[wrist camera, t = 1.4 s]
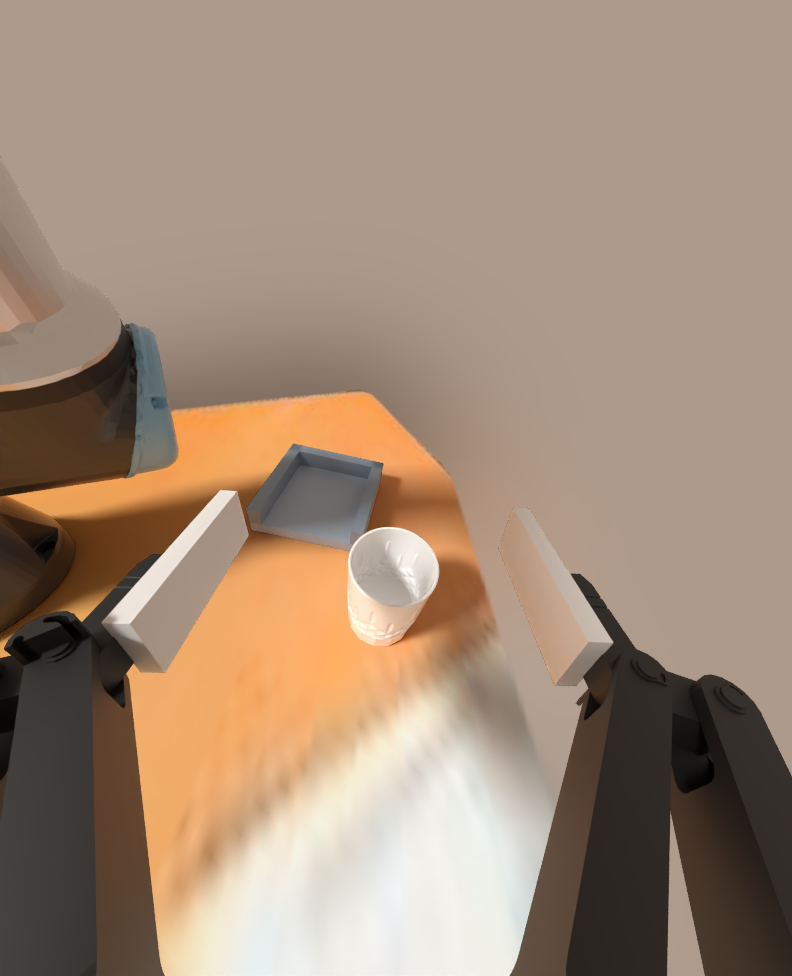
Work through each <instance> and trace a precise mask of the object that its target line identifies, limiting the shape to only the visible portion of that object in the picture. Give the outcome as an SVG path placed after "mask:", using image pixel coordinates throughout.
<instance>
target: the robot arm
mask: <svg viewBox="0 0 792 976" xmlns="http://www.w3.org/2000/svg"><path fill="white" fill-rule="evenodd" d="M178 453H179V450H178V444H177V439H176V434H175V429H174V424H173V419H172V414H171V409H170V404H169V399H168V395H167V389H166V385H165V380H164V375H163V370H162V365H161V361H160V356H159V351H158V346H157V342H156V337H155V335H154V333H153V332H152V331H151V330H150V329H148V328H145V327H139V326H137V325H135V324H133V323H131V324H126V325H125V326H124V325H123V323H122V321H121V319H120V317H119V314H118V312H117V311H116V309H115V307H114V306H113V304H112V303H111V301H110V300H109V298H108V297H107V296H106V295H104V293H103V292H101V291H100V290H99V289H97V288H96V287H95V286H93V285H92V284H90V283H88V282H87V281H85V280H83V279H82V278H80V277H78V276H76V275H74V274H72V273H70V272H67V271H65V270H64V269H63V268H62V266H61V264H60V263H59V261H58V259H57V257H56V255H55V254H54V252H53V250H52V248H51V247H50V245H49V243H48V241H47V239H46V238H45V236H44V234H43V232H42V230H41V229H40V227H39V225H38V223H37V221H36V220H35V218H34V216H33V214H32V212H31V211H30V209H29V207H28V205H27V203H26V202H25V200H24V198H23V196H22V195H21V193H20V191H19V189H18V187H17V185H16V184H15V182H14V180H13V178H12V176H11V175H10V173H9V171H8V169H7V167H6V166H5V164H4V162H3V160H2V158H1V157H0V632H1V631H2V630H4V629H6V628H7V627H9V626H10V625H12V624H13V623H15V622H16V621H18V620H19V619H21V618H22V617H24V616H25V615H26V614H28V613H29V612H30V611H32V610H33V609H34V608H35V607H37V606H38V605H39V604H40V603H41V602H42V601H44V600H45V599H46V598H47V597H48V596H49V595H50V594H51V593H52V592H53V591H54V590H55V589H56V587H57V586H58V585H59V584H60V583H61V581H62V580H63V579H64V577H65V576H66V574H67V573H68V571H69V569H70V567H71V565H72V562H73V559H74V554H75V546H74V542H73V540H72V538H71V536H70V535H69V534H68V533H67V532H66V531H65V530H64V528H63V527H62V526H61V525H60V524H59V523H58V522H57V521H56V520H54V519H53V518H51V517H50V516H48V515H46V514H44V513H42V512H40V511H38V510H35V509H33V508H31V507H29V506H27V505H25V504H22V503H20V502H18V501H16V500H14V499H12V498H9V497H7V495H13V494H20V493H27V492H33V491H40V490H46V489H53V488H59V487H66V486H73V485H79V484H86V483H92V482H99V481H105V480H112V479H119V478H131V477H133V476H135V475H136V474H140V473H145V472H150V471H155V470H159V469H164V468H167V467H169V466H171V465H172V464H173V463H174V462H175V461H176V459H177V457H178ZM248 536H249V534H248V530H247V526H246V523H245V519H244V515H243V511H242V508H241V504H240V500H239V496H238V492H237V491H228V490H220V491H219V492H218V493H217V494H216V495H215V497H214V498H213V499H212V500H211V501H210V502H209V503H208V504H207V505H206V507H205V508H204V509H203V510H202V511H201V512H200V513H199V514H198V515H197V517H196V518H195V519H194V520H193V521H192V522H191V523H190V524H189V525H188V527H187V528H186V529H185V530H184V531H183V532H182V533H181V534H180V536H179V537H178V538H177V539H176V540H175V541H174V542H173V543H172V544H171V546H170V547H169V548H168V549H167V550H166V551H165V552H164V553H163V554H152V555H151V556H149V557H148V558H146V559H145V560H143V561H142V562H140V563H138V564H137V565H136V566H135V567H134V568H133V569H132V570H131V572H130V573H129V574H128V575H127V577H126V578H124V579H123V580H122V581H121V582H120V583H119V584H118V585H117V588H114V589H113V590H112V591H111V592H110V593H109V595H108V596H107V597H106V598H105V599H104V600H103V601H102V602H101V603H100V604H99V605H98V606H97V607H96V608H95V609H94V610H93V611H92V612H91V613H90V614H89V615H88V616H87V617H86V619H85V620H84V621H83V622H81V621H80V620H79V619H78V618H77V617H76V616H75V614H73V613H70V612H68V611H62V612H54V613H51V614H47V615H44V616H42V617H40V618H37V619H35V620H33V621H31V622H29V623H28V624H27V625H25V626H24V627H22V628H21V629H19V630H18V631H17V632H16V633H15V634H14V635H13V636H12V637H11V638H10V639H9V640H8V642H7V643H6V645H5V647H4V650H5V651H7V652H8V653H9V654H10V655H11V656H7V657H3V658H0V976H165V975H164V973H163V971H162V967H161V964H160V957H159V949H158V940H157V931H156V922H155V913H154V904H153V894H152V885H151V876H150V867H149V858H148V849H147V840H146V830H145V821H144V812H143V803H142V794H141V785H140V776H139V766H138V757H137V748H136V739H135V730H134V721H133V712H132V702H131V693H130V684H129V679H128V677H127V674H126V673H127V672H128V670H129V669H130V667H131V666H132V665H133V663H134V664H135V666H136V667H137V668H138V669H139V670H140V672H150V673H165V672H166V670H167V669H168V667H169V666H170V664H171V662H172V661H173V659H174V657H175V656H176V654H177V652H178V651H179V649H180V648H181V646H182V644H183V643H184V641H185V639H186V638H187V636H188V634H189V633H190V631H191V629H192V628H193V626H194V625H195V623H196V621H197V620H198V618H199V616H200V615H201V613H202V611H203V610H204V608H205V606H206V605H207V603H208V602H209V600H210V598H211V597H212V595H213V593H214V592H215V590H216V588H217V587H218V585H219V583H220V582H221V580H222V579H223V577H224V575H225V574H226V572H227V570H228V569H229V567H230V565H231V564H232V562H233V561H234V559H235V557H236V556H237V554H238V552H239V551H240V549H241V547H242V546H243V544H244V542H245V541H246V539H247V538H248ZM498 549H499V551H500V553H501V556H502V558H503V561H504V563H505V566H506V568H507V571H508V573H509V575H510V578H511V580H512V583H513V585H514V588H515V590H516V593H517V595H518V597H519V600H520V602H521V605H522V607H523V610H524V612H525V615H526V617H527V619H528V622H529V624H530V627H531V629H532V632H533V634H534V636H535V639H536V641H537V644H538V646H539V649H540V651H541V654H542V656H543V659H544V661H545V663H546V666H547V668H548V671H549V673H550V676H551V678H552V681H553V683H554V685H555V686H576V685H577V684H578V683H579V682H580V681H581V679H583V678H584V680H585V682H586V684H587V686H588V688H589V689H588V690H587V691H586V692H585V693H584V694H583V695H582V696H581V697H580V698H579V700H578V701H577V703H576V704H577V705H579V706H580V705H581V704H582V703H583V704H582V708H581V712H580V716H579V720H578V724H577V728H576V732H575V736H574V740H573V744H572V748H571V752H570V755H569V759H568V763H567V767H566V771H565V775H564V779H563V783H562V787H561V791H560V795H559V799H558V802H557V806H556V810H555V814H554V818H553V822H552V826H551V830H550V834H549V838H548V842H547V846H546V850H545V854H544V857H543V861H542V865H541V869H540V873H539V877H538V881H537V885H536V889H535V893H534V897H533V901H532V905H531V909H530V912H529V916H528V920H527V924H526V928H525V932H524V936H523V940H522V944H521V948H520V952H519V955H518V959H517V962H516V964H515V967H514V969H513V971H512V973H511V974H510V976H667V947H668V946H667V945H668V895H669V845H670V811H671V815H672V820H673V825H674V830H675V834H676V839H677V844H678V849H679V853H680V858H681V863H682V868H683V873H684V877H685V882H686V887H687V892H688V897H689V901H690V906H691V911H692V916H693V920H694V925H695V930H696V935H697V940H698V944H699V949H700V954H701V959H702V963H703V968H704V973H705V976H792V776H791V774H790V772H789V770H788V768H787V766H786V764H785V762H784V759H783V757H782V755H781V753H780V751H779V749H778V747H777V745H776V743H775V741H774V739H773V737H772V735H771V733H770V731H769V729H768V727H767V724H766V722H765V720H764V718H763V716H762V714H761V712H760V711H759V709H758V708H757V706H756V704H755V703H754V702H753V701H752V700H751V699H750V698H749V697H748V695H746V693H745V692H743V691H742V690H741V689H739V688H738V687H737V686H735V685H734V684H733V683H731V682H729V681H727V680H725V679H723V678H722V677H718V676H715V675H704V676H703V677H701V678H700V679H699V680H698V681H694V680H691V679H688V678H685V677H682V676H679V675H676V674H673V673H671V672H668V671H666V670H665V669H664V668H663V667H662V666H661V665H660V664H659V662H657V661H656V660H655V659H654V658H652V657H651V656H649V655H648V654H646V653H644V652H641V651H639V650H637V649H636V648H635V647H634V645H633V644H632V642H631V641H630V640H629V638H628V637H627V635H626V634H625V632H624V631H623V630H622V628H621V626H620V625H619V623H618V622H617V620H616V619H615V618H614V616H613V615H612V613H611V612H610V610H609V609H607V606H606V604H605V603H604V601H603V600H602V599H600V596H599V594H598V593H597V591H596V590H595V588H594V587H593V585H592V584H591V583H590V582H588V581H587V580H586V579H585V578H584V577H583V576H582V575H581V574H570V573H569V571H568V570H567V568H566V567H565V565H564V563H563V562H562V560H561V558H560V557H559V555H558V554H557V552H556V551H555V549H554V547H553V546H552V544H551V543H550V541H549V539H548V538H547V536H546V535H545V533H544V531H543V530H542V528H541V527H540V525H539V524H538V522H537V520H536V519H535V517H534V516H533V514H532V512H531V511H530V509H529V508H519V507H513V509H512V512H511V515H510V518H509V520H508V523H507V526H506V529H505V532H504V534H503V537H502V540H501V543H500V545H499V548H498Z"/></svg>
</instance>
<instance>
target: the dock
mask: <svg viewBox="0 0 792 976" xmlns="http://www.w3.org/2000/svg"><path fill="white" fill-rule="evenodd" d="M382 468H383V463H380V462H375V461H370V460H366V459H361V458H357V457H352V456H347V455H343V454H338V453H334V452H329V451H325V450H320V449H315V448H311V447H306V446H302V445H297V444H293V445H292V446H291V448H290V449H289V450H288V452H287V453H286V454H285V456H284V457H283V458H282V460H281V461H280V463H279V464H278V465H277V467H276V468H275V469H274V471H273V472H272V473H271V475H270V476H269V478H268V479H267V480H266V482H265V483H264V484H263V486H262V487H261V488H260V490H259V491H258V493H257V494H256V495H255V497H254V498H253V499H252V501H251V502H250V503H249V505H248V506H247V508H246V510H247V514H248V518H249V522H250V526H251V530H253V531H258V532H263V533H267V534H272V535H277V536H281V537H286V538H291V539H295V540H300V541H305V542H309V543H314V544H319V545H323V546H328V547H333V548H337V549H342V550H347V551H351V548H352V547H353V545H354V543H355V542H356V541H357V540H358V539H359V538H360V537H361V536H362V535H364V534H365V533H366V532H367V528H368V525H369V521H370V517H371V514H372V510H373V506H374V503H375V499H376V495H377V492H378V488H379V484H380V479H381V474H382Z"/></svg>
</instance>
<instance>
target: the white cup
mask: <svg viewBox="0 0 792 976" xmlns="http://www.w3.org/2000/svg"><path fill="white" fill-rule="evenodd" d="M438 579H439V564H438V560H437V557H436V555H435V553H434V551H433V550H432V548H431V547H430V546H429V544H428V543H427V542H426V541H425V540H423V539H422V538H421V537H420V536H418V535H416V534H415V533H413V532H411V531H408V530H405V529H402V528H397V527H382V528H377V529H374V530H371V531H369V532H367V533H365V534H364V535H362V536H361V537H360V538H359V539H358V540H357V541H356V542H355V543H354V545H353V547H352V548H351V551H350V554H349V559H348V615H349V620H350V626H351V628H352V630H353V631H354V632H355V634H356V635H357V636H358V638H359V639H360V640H362V641H364V642H366V643H368V644H370V645H372V646H390V645H391V644H393V643H395V642H397V641H399V640H400V639H402V637H403V636H404V634H405V633H406V631H407V630H408V628H409V627H410V626H411V625H412V624H413V623H414V621H415V620H416V618H417V617H418V615H419V613H420V612H421V610H422V608H423V607H424V605H425V604H426V602H427V600H428V599H429V597H430V595H431V594H432V592H433V591H434V589H435V587H436V585H437V582H438Z"/></svg>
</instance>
